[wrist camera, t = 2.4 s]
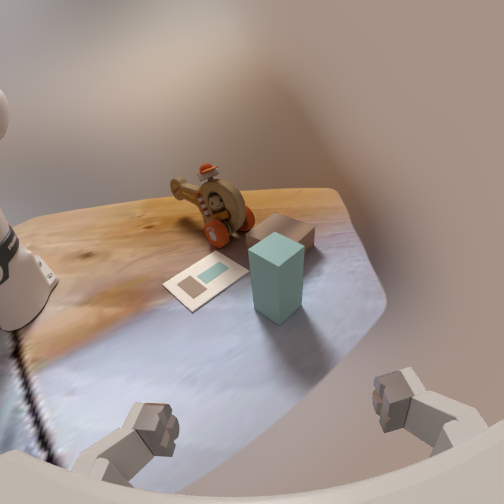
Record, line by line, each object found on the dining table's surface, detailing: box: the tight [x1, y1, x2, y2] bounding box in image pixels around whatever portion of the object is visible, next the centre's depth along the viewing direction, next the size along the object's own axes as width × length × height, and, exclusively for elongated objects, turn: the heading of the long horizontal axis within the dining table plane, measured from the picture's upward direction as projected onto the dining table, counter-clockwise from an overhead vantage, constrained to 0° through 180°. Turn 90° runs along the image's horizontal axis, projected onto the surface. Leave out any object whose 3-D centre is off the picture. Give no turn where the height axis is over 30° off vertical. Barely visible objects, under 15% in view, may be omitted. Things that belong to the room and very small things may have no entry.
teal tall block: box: [248, 232, 305, 326], centre depth 35 cm, size 4×4×10 cm
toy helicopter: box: [170, 163, 255, 248], centre depth 52 cm, size 8×21×14 cm, turn 47°
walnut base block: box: [245, 213, 315, 254], centre depth 47 cm, size 8×8×4 cm
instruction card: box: [163, 251, 249, 312], centre depth 44 cm, size 8×11×1 cm
